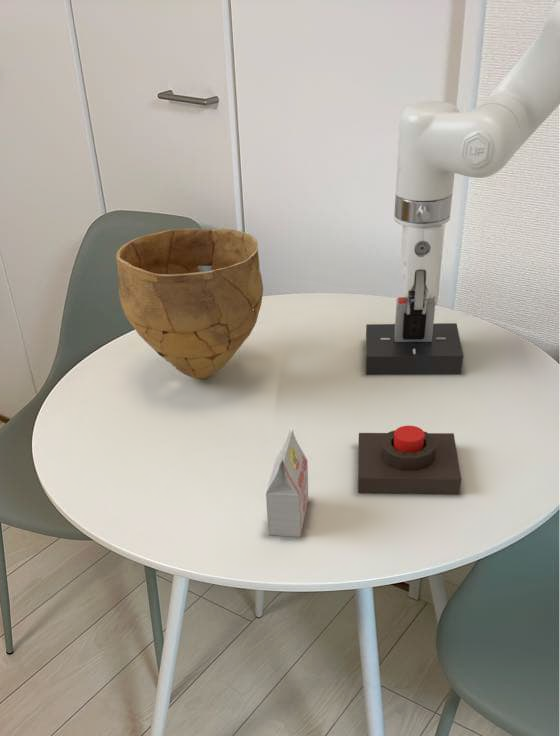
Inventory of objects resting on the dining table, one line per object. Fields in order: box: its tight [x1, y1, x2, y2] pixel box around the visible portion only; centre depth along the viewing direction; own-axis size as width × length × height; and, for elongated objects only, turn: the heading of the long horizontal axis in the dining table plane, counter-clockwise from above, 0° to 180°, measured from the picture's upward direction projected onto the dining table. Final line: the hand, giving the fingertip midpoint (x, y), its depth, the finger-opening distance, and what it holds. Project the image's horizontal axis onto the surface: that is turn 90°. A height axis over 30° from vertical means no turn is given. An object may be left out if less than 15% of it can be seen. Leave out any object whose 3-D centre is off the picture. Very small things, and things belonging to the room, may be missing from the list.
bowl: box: [115, 228, 264, 380], centre depth 109 cm, size 21×20×20 cm
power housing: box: [357, 429, 462, 495], centre depth 93 cm, size 12×10×4 cm
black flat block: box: [365, 322, 464, 376], centre depth 115 cm, size 14×11×3 cm
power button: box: [394, 425, 425, 452], centre depth 91 cm, size 4×4×2 cm
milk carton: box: [265, 429, 309, 538], centre depth 85 cm, size 4×7×10 cm, turn 169°
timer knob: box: [394, 296, 436, 342], centre depth 113 cm, size 6×2×6 cm, turn 84°
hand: (412, 333), depth 114 cm, fingers closed on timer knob, 2 cm apart
